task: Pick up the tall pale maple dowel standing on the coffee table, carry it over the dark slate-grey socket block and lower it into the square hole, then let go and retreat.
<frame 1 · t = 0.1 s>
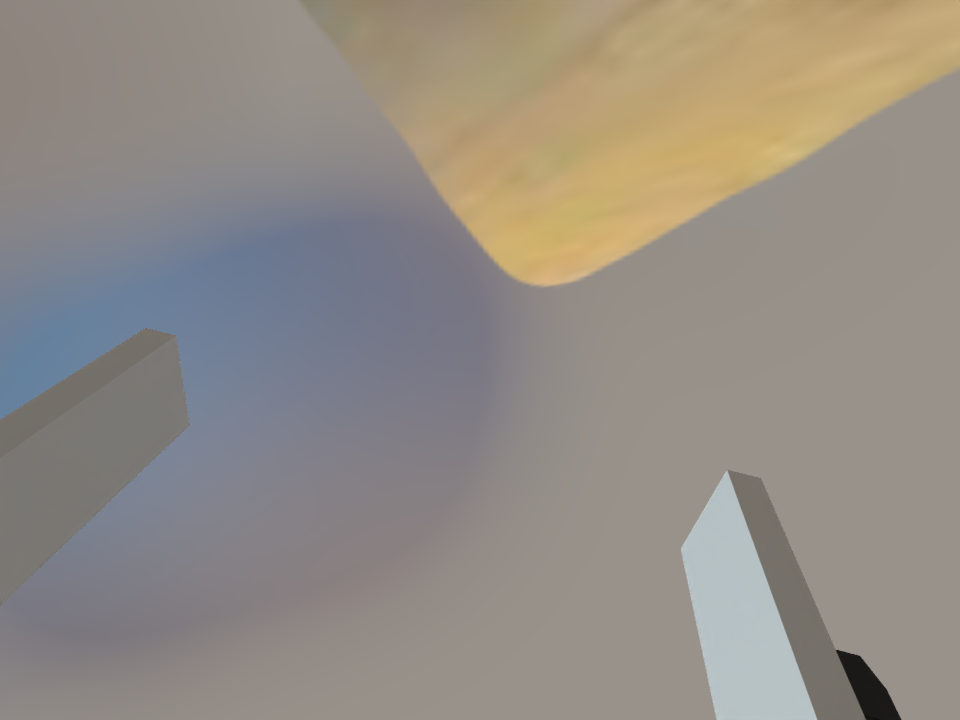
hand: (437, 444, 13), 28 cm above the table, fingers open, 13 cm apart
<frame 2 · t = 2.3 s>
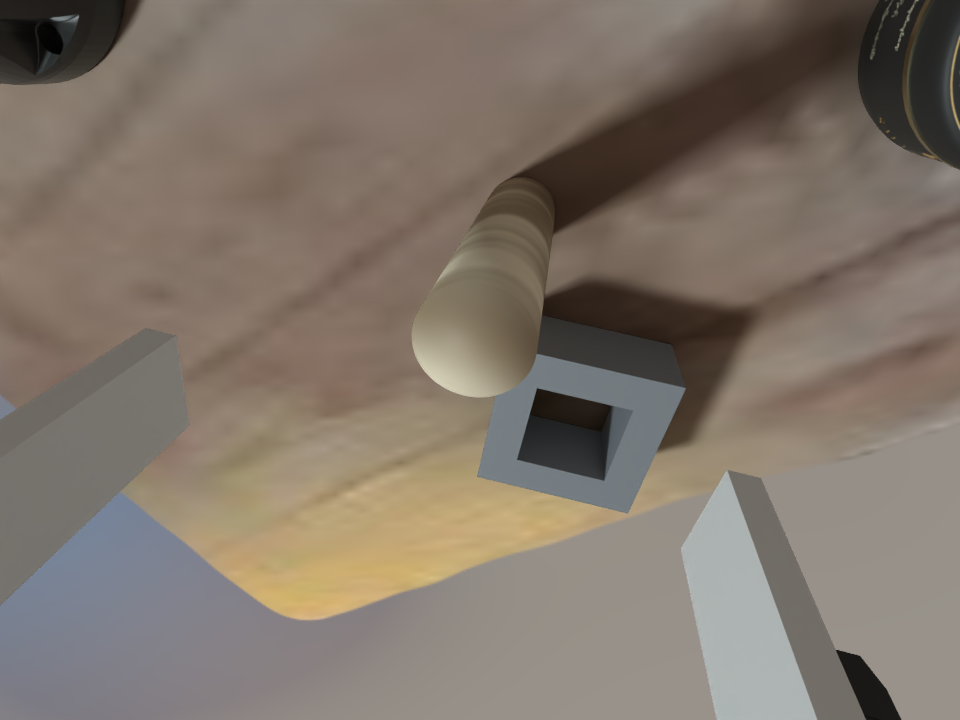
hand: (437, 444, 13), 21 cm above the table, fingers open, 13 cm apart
socket: (572, 390, 35), on the table
peg: (520, 213, 30), on the table
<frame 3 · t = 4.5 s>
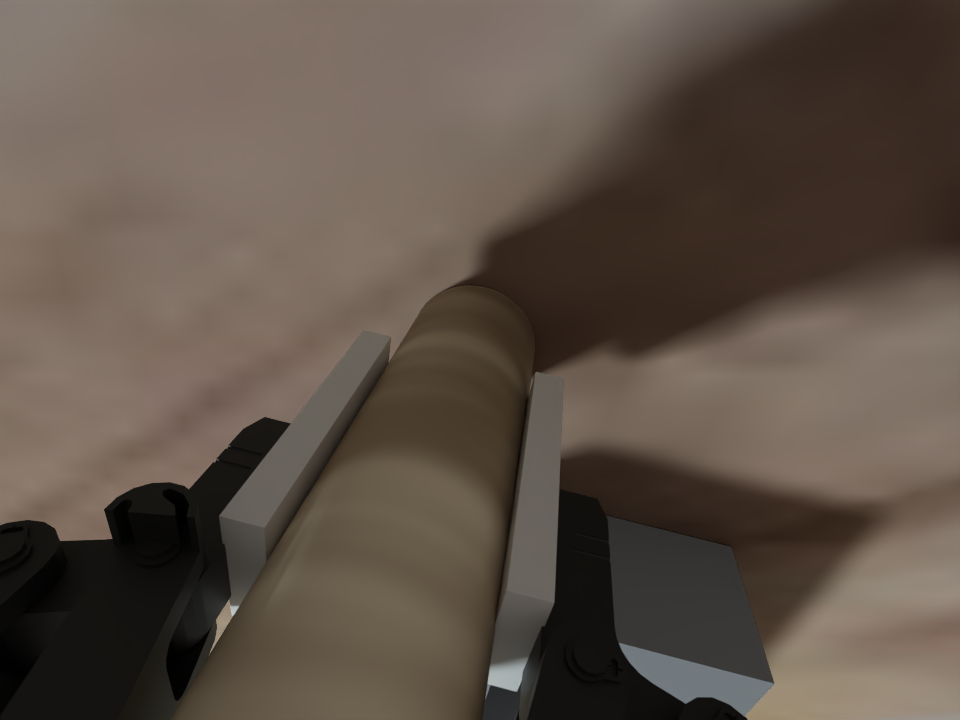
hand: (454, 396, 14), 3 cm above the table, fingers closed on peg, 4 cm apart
socket: (566, 593, 22), on the table
peg: (473, 342, 17), on the table, touching gripper
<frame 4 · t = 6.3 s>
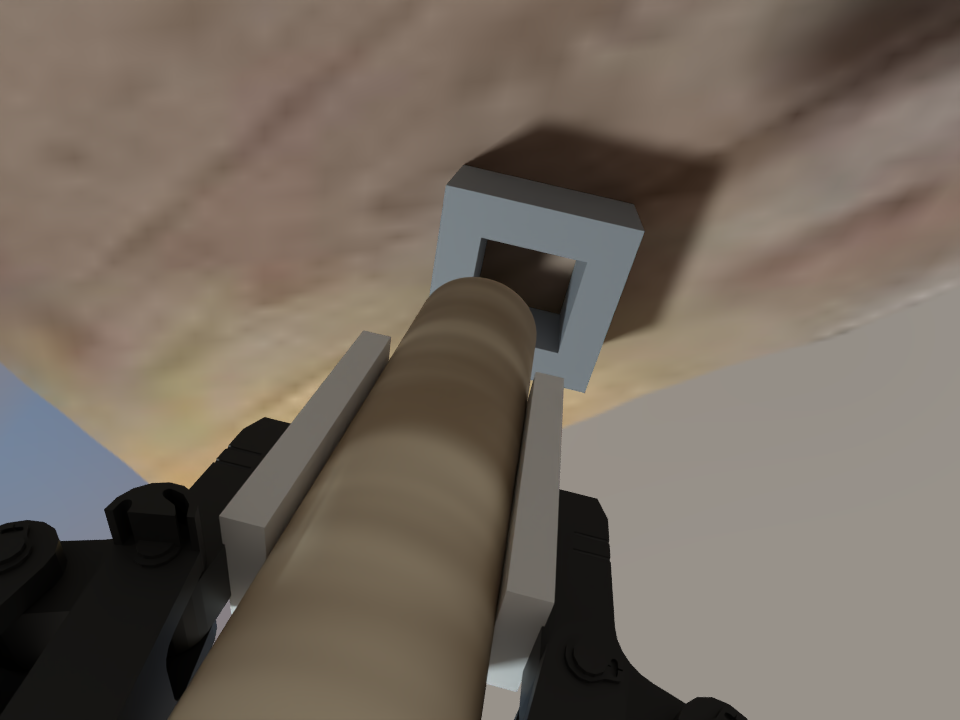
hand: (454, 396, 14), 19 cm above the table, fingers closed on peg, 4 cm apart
socket: (527, 264, 32), on the table
peg: (476, 333, 17), point 16 cm above the table, touching gripper
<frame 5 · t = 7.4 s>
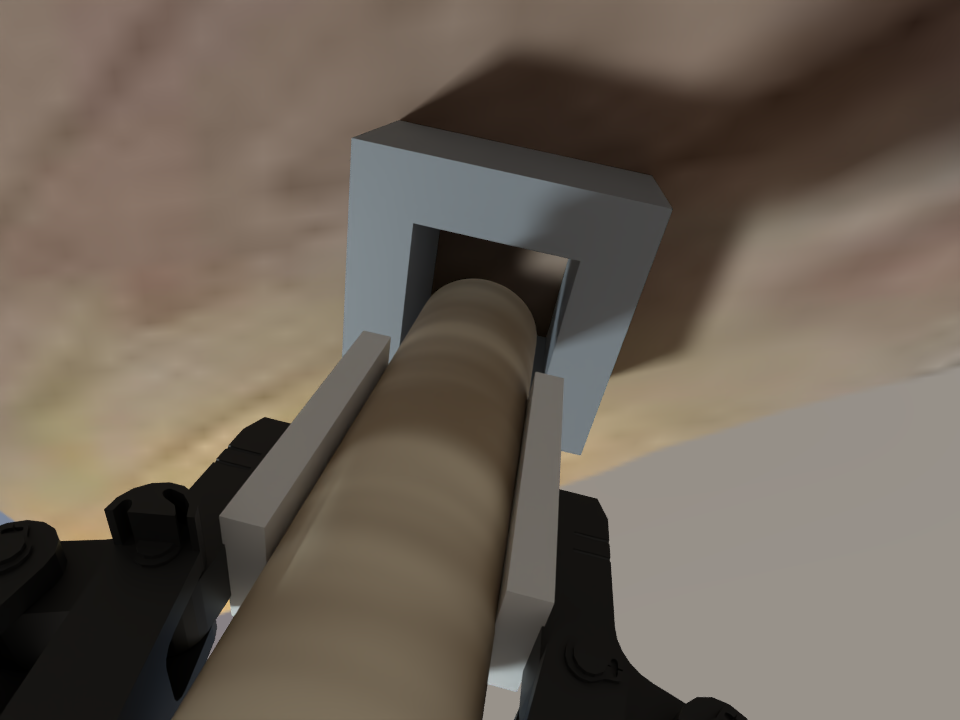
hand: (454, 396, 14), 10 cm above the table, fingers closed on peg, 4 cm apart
socket: (498, 267, 23), on the table
peg: (477, 334, 17), point 6 cm above the table, touching gripper
when the fingers open (6 cm above the table, at t = 8.3 s): peg drops 2 cm, resting in socket.
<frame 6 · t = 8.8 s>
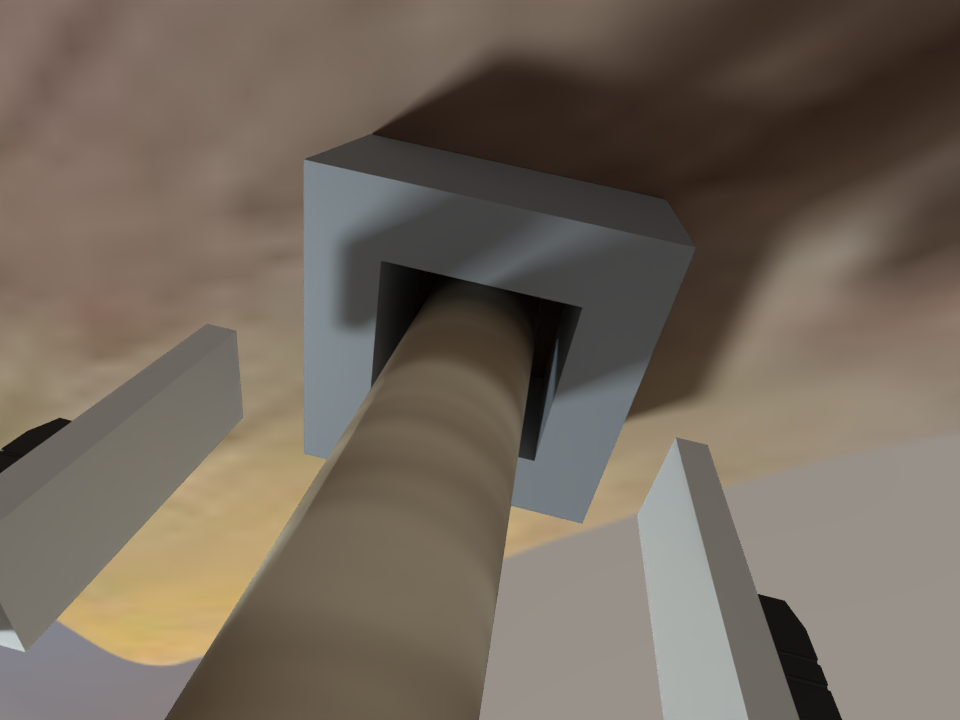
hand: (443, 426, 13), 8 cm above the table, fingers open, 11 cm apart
socket: (488, 301, 20), on the table
peg: (487, 301, 20), resting in socket
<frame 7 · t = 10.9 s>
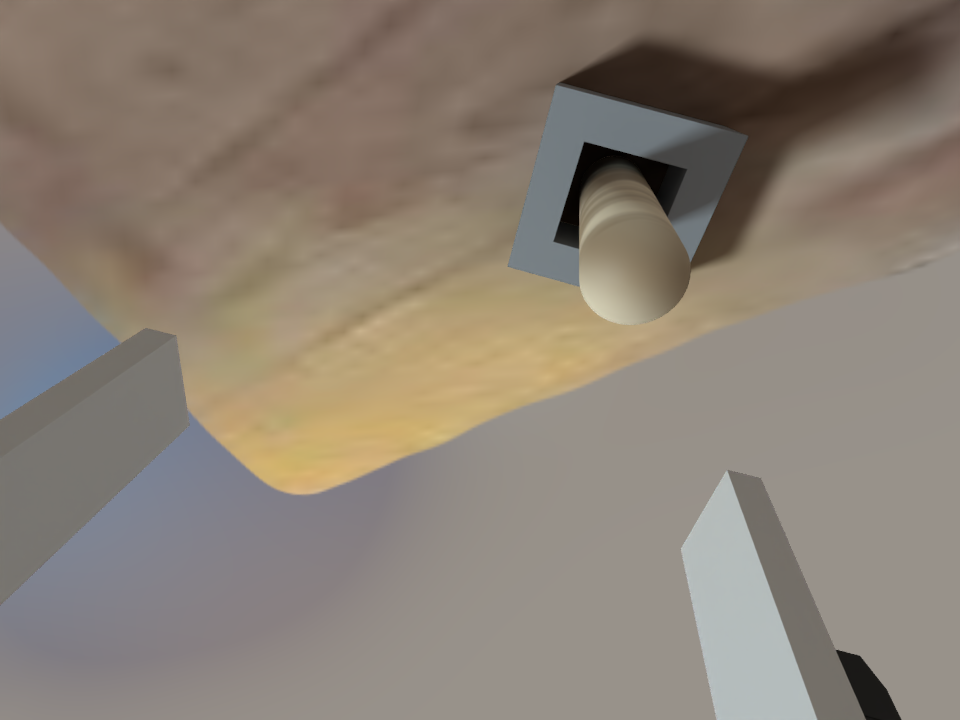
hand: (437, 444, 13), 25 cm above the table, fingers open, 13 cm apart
socket: (611, 189, 33), on the table
peg: (611, 189, 33), resting in socket
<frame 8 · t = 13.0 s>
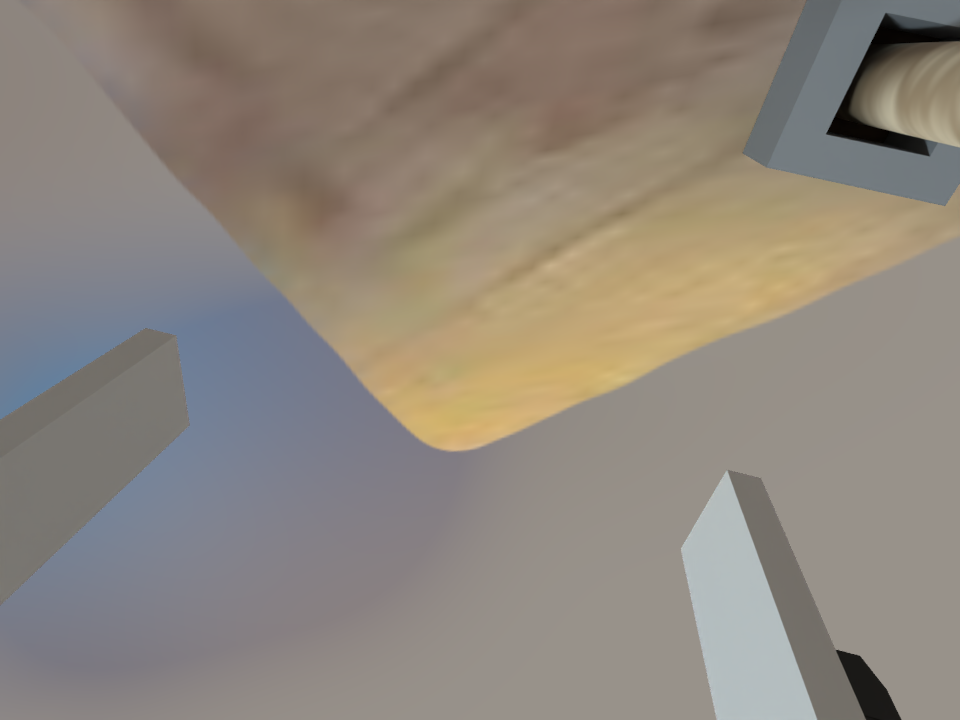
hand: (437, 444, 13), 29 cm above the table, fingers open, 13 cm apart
socket: (863, 83, 31), on the table
peg: (862, 83, 31), resting in socket
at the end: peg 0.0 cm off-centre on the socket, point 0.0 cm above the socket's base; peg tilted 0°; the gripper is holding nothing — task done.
